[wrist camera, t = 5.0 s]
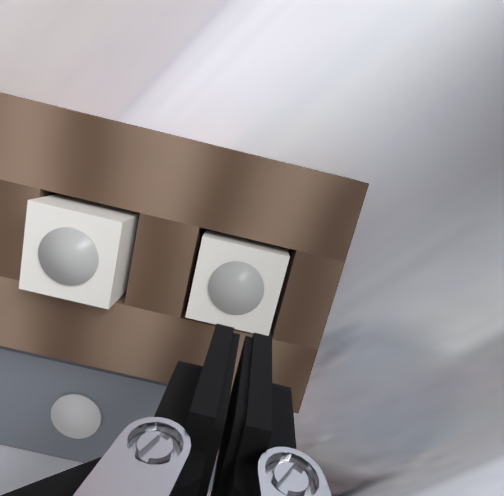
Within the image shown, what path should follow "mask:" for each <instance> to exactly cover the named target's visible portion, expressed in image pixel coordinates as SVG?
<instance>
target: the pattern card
mask: <svg viewBox="0 0 504 496" xmlns="http://www.w3.org/2000/svg"><path fill="white" fill-rule="evenodd" d="M167 385H168V384H167V383H162V382H158V381H153V380H149V379H145V378H140V377H136V376H131V375H127V374H123V373H118V372H114V371H109V370H105V369H100V368H96V367H92V366H87V365H83V364H78V363H74V362H70V361H65V360H61V359H56V358H52V357H48V356H43V355H39V354H34V353H30V352H25V351H21V350H17V349H12V348H8V347H3V346H0V444H1V445H6V446H10V447H15V448H19V449H24V450H28V451H33V452H38V453H42V454H47V455H51V456H56V457H60V458H65V459H70V460H74V461H79V462H83V463H87V462H89V461H92V460H95V459H97V458H100V457H102V456H104V454H105V453H106V452H107V451H108V449H109V448H110V447H111V445H112V444H113V443H114V441H115V440H116V439H117V438H118V436H119V435H120V434H121V432H122V431H123V430H124V429H125V428H126V427H127V426H128V425H129V424H130V423H132V422H134V421H136V420H138V419H142V418H147V417H154V415H155V413H156V411H157V408H158V406H159V404H160V401H161V399H162V397H163V395H164V392H165V390H166V388H167ZM218 451H219V450H218ZM217 456H218V453H217ZM216 462H217V457H216V461H215V465H214V469H213V473H212V477H211V480H210V484H209V488H208V490H211V491H212V485H213V480H214V474H215V468H216Z"/></svg>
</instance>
